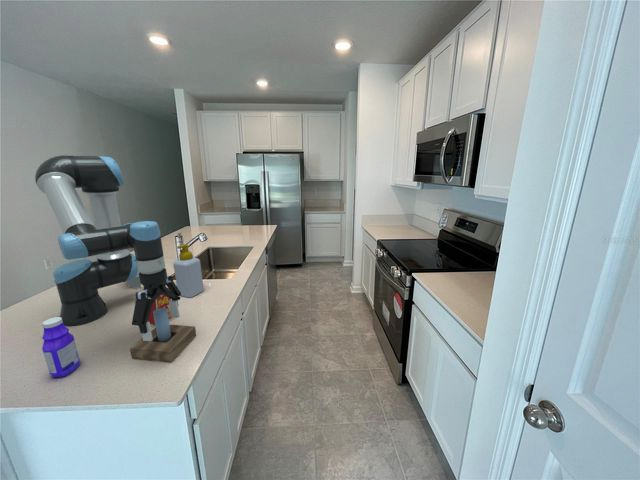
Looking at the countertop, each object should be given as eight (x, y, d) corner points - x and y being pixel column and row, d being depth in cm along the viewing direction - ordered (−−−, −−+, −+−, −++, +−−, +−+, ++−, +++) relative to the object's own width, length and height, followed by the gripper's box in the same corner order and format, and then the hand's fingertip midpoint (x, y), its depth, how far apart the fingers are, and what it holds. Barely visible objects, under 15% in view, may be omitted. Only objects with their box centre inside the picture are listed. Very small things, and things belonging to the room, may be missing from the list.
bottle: (66, 362, 85) (52, 314, 80) (85, 361, 85) (72, 313, 81) (46, 379, 78) (28, 328, 73) (66, 378, 78) (50, 327, 74)
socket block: (132, 358, 87) (129, 348, 86) (161, 333, 100) (159, 323, 99) (171, 362, 85) (169, 351, 84) (196, 335, 98) (195, 326, 97)
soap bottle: (176, 295, 129) (169, 246, 122) (191, 287, 137) (185, 241, 130) (190, 298, 126) (183, 248, 119) (205, 290, 134) (199, 243, 127)
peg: (157, 349, 91) (150, 313, 87) (164, 342, 95) (158, 307, 91) (167, 350, 90) (161, 314, 87) (175, 343, 94) (169, 308, 90)
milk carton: (177, 316, 111) (170, 272, 106) (157, 328, 103) (148, 281, 97) (160, 312, 114) (153, 269, 109) (140, 324, 106) (131, 277, 100)
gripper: (131, 287, 72) (145, 353, 78) (186, 257, 96) (194, 309, 102) (107, 286, 73) (122, 351, 79) (167, 256, 97) (175, 308, 103)
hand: (162, 327), depth 90 cm, fingers open, 13 cm apart
